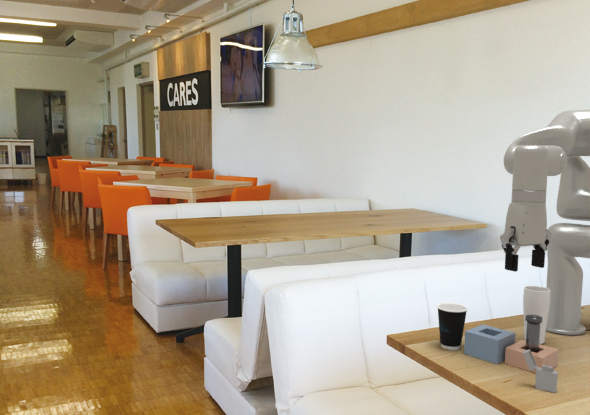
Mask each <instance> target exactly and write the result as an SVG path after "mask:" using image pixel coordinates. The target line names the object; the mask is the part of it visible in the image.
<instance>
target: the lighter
mask: <svg viewBox="0 0 590 415" xmlns="http://www.w3.org/2000/svg"><path fill="white" fill-rule="evenodd" d="M523 355H524V358H525V360H526V362H527V365H528V367H529V369H530V370H535V369H536V373H535V382H534V388H535V389H536V390H541V391H545V392H550V393H554V394H556V393H557V391H558V375H559V374H558V373H559V372H558V370H555V369H554V368H555V367H554V368H553V367H552V366H548V365H542V368H540V367H537V364H536V362H535V360H534V357H533V355H532V353H531V351H530V349H529V350H524V351H523Z"/></svg>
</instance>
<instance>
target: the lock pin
mask: <svg viewBox="0 0 590 415" xmlns="http://www.w3.org/2000/svg"><path fill="white" fill-rule="evenodd" d="M542 319H543V318H542V317H541V316H538V315H526V316H525V320H526V321H527V330H526V348H525V350H529V349H530V351H532V352H535V353H538V352H539V339H540V323H542Z"/></svg>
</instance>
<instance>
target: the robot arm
mask: <svg viewBox="0 0 590 415" xmlns="http://www.w3.org/2000/svg"><path fill="white" fill-rule="evenodd" d="M582 157H590V109H575V110H572V109H571V110H565V111H562V112H560V113H558V114H557V115H556V116H555V117H554V118H553V119H552V120H551V122H550V123H549V124H548V125H547V126H546V127H543V128H540V129H537V130H534V131H532V132H529V133H526V134H523V135H520V136H518V137H517V138H516V139H514V140H513V141H512V142H511V144H510V145H509V146H508V147H507V149H506V151H505V153H504V156H503V166H504V169H505V171H506V172H507V173H508V174H510V175H512V182H511V183H512V186H511V202H510V203H509V206H508V207H507V212H506V218H505V225H504V232H503V233H502V234H500V236H499V240H500V243H501V248H502V249H503V253H504V269H505V270H506V271H511V272H518V270H519V254H517V253H518V252H519V250H520V248H521V247H529V246H532V247H533V249H532V250H531V266H532V267H534V268H535V267H536V268H540V269H543V268H545V263H546V261H545V260H546V256H547V269H546V270H547V271H546V287H545V288H548V289H550V290H551V296H550V308H549V315H548V321H547V327H546V332H549V333H554V334H559V335H566V336H567V335H568V336H578V335H582V334H584V333H586V329H587V328H586V326H584V325H583V324H581V318H582V317H583V314H582V311H581V310H582V298H583V297H582V296H583V283H584V271H583V268H582V266H581V265H580V263H579V262H578V260H577V258H583V259H590V224H582V223H569V222H568V223H567V222H558V223H555V224H551V225H550V226H549V227H548V225H547V224H548V223H547V222H548V221H547V220H548V218H547V205H546V204H547V203H546V202H547V189H548V188H547V187H548V177H556V176H558V175H560V178H559V179H560V180H559V186H558V190H557V191H558V192H557V199H556V213H557V215H558V216H559V217H560V218H562V219H565V220H572V221H582V222H590V166H589V165H588V163H587V162H586V161H585V160H584V159H583V158H582ZM546 252H547V254H546Z"/></svg>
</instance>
